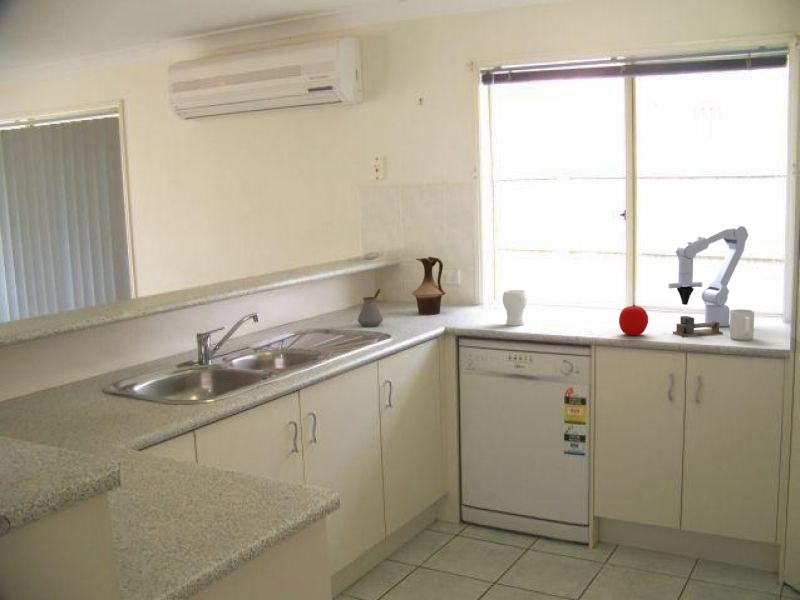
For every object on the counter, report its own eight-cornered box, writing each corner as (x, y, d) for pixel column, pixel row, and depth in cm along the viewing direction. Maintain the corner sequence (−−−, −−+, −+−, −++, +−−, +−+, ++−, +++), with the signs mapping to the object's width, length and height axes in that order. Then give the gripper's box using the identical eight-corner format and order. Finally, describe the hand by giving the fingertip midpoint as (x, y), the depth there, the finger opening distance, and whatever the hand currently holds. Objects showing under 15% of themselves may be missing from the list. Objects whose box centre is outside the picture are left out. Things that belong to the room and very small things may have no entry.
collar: (686, 330, 353) (687, 316, 352) (693, 332, 348) (694, 318, 347) (680, 330, 352) (680, 316, 351) (687, 333, 347) (687, 318, 346)
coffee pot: (378, 328, 384) (377, 295, 381) (354, 327, 387) (353, 294, 385) (392, 319, 404) (391, 288, 401) (369, 319, 407) (368, 288, 405)
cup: (500, 326, 380) (500, 292, 378) (506, 322, 390) (505, 289, 388) (524, 327, 376) (523, 293, 374) (529, 322, 386) (528, 290, 384)
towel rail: (712, 330, 357) (712, 320, 356) (722, 334, 349) (723, 323, 348) (672, 333, 353) (672, 323, 352) (682, 337, 345) (683, 326, 345)
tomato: (630, 338, 345) (631, 308, 343) (612, 333, 356) (613, 304, 354) (655, 335, 350) (655, 305, 348) (636, 330, 361) (636, 301, 359)
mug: (726, 336, 344) (727, 309, 342) (749, 336, 343) (750, 309, 341) (735, 342, 332) (736, 314, 330) (758, 342, 331) (760, 314, 329)
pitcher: (453, 311, 421) (452, 255, 417) (436, 317, 407) (435, 259, 403) (423, 309, 431) (421, 254, 426) (405, 314, 417) (403, 257, 412)
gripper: (696, 270, 364) (695, 302, 366) (665, 272, 362) (664, 303, 364) (705, 272, 358) (704, 304, 360) (673, 274, 355) (672, 306, 357)
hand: (684, 304), depth 361 cm, fingers closed
